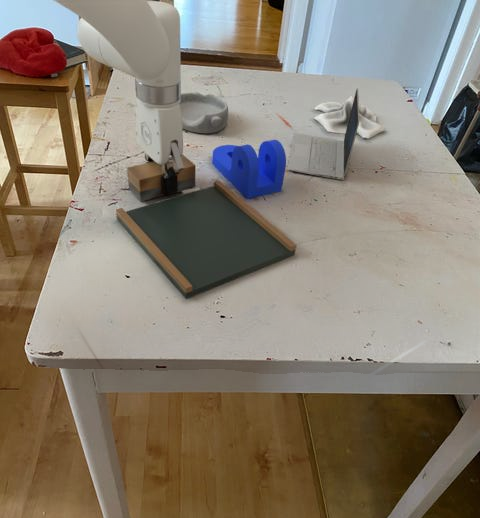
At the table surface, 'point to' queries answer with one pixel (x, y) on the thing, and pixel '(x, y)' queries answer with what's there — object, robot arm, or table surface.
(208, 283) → the slate board
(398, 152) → the table surface
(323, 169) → the laptop
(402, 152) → the table surface
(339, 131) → the cloth
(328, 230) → the table surface
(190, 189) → the off-white bar
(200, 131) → the dish
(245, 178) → the bracket
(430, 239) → the table surface
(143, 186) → the eraser
